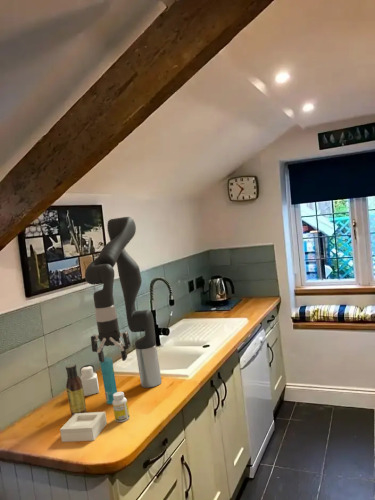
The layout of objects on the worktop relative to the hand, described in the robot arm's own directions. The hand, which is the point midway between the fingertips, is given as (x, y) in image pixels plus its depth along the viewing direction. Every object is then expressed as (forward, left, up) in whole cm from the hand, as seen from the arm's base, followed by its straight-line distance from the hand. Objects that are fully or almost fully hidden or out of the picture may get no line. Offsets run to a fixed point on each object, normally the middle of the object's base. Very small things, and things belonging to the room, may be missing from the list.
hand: (113, 361), depth 161 cm
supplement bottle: (0, 0, -22) cm, 22 cm away
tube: (-16, -10, -22) cm, 29 cm away
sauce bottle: (-7, -21, -22) cm, 31 cm away
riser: (+9, -11, -22) cm, 26 cm away
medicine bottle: (-28, -25, -22) cm, 44 cm away
